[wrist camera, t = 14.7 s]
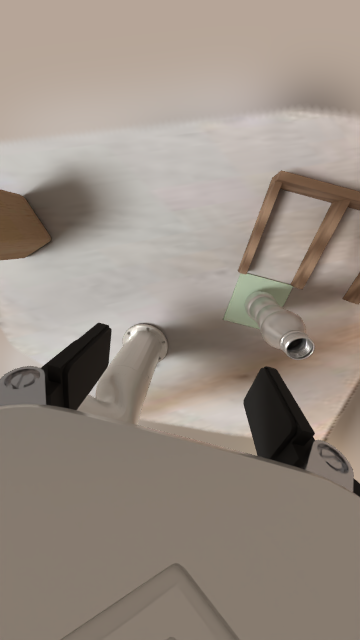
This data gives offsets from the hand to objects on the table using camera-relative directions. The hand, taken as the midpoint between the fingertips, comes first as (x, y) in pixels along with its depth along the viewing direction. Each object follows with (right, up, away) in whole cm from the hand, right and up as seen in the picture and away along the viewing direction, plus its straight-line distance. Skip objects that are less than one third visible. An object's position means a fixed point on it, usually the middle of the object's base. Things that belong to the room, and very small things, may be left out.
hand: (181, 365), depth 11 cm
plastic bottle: (+18, +7, +31) cm, 37 cm away
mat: (+18, +7, +32) cm, 37 cm away
